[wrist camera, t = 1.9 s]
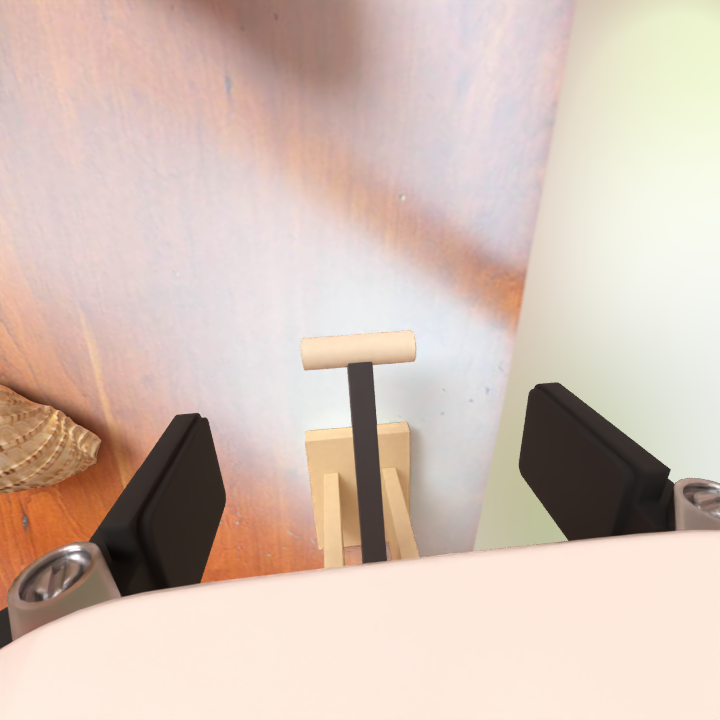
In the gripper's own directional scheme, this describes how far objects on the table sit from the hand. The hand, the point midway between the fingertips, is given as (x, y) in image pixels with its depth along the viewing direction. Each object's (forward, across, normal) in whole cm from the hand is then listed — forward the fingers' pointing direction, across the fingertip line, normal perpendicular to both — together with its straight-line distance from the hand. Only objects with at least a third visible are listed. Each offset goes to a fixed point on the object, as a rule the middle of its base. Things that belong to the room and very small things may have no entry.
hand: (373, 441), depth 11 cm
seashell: (+13, +21, +5) cm, 25 cm away
